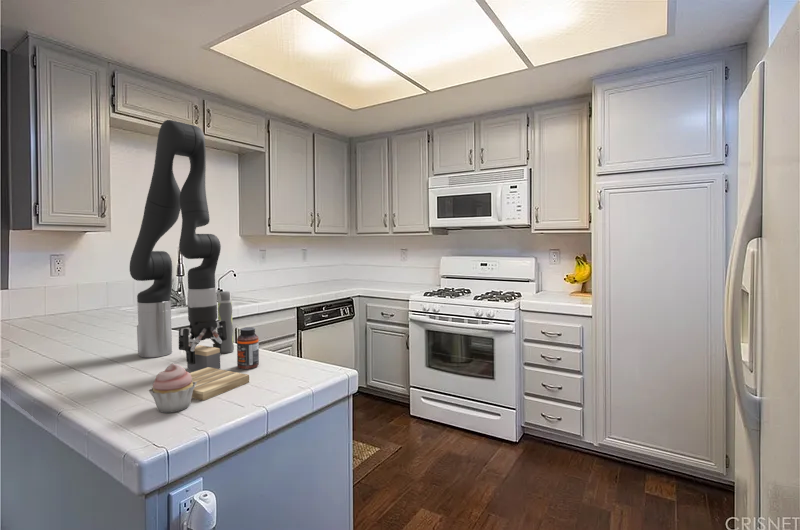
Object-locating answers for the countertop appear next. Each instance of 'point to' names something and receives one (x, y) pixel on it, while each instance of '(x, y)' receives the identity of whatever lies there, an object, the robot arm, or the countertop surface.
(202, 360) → the block
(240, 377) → the slatted wooden trivet
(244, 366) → the supplement bottle
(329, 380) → the countertop surface
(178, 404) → the cupcake
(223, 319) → the grey water bottle
